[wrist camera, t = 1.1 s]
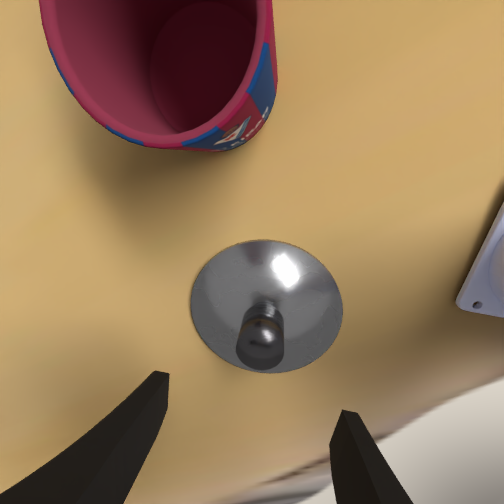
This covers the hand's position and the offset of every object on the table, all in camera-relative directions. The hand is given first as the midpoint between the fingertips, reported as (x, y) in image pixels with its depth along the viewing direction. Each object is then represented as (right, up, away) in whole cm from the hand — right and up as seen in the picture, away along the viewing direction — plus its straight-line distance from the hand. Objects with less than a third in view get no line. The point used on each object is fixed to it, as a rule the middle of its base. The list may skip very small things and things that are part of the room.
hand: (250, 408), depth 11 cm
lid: (+1, +3, +7) cm, 8 cm away
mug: (-3, +17, +3) cm, 17 cm away
